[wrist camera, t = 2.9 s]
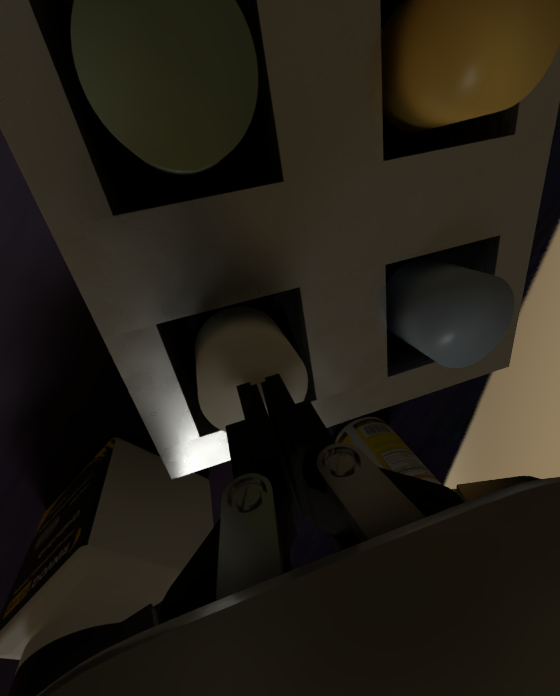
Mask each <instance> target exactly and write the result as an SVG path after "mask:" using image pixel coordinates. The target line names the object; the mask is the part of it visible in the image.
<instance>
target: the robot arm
mask: <svg viewBox="0 0 560 696" xmlns="http://www.w3.org/2000/svg"><path fill="white" fill-rule="evenodd" d="M261 387H262V391H263V395H264V399H265V403H266V407H267V410H266V408H265V405H264V402H263V400H262V397H261V395H260V392H259V389H258V387H257V384H255V385H251V383H250V382H248V383H245V384H241V385H238V386H236V388H237V391H238V395H239V399H240V403H241V406H242V410H243V414H244V418H245V420H242V421H239V422H236V423H233V424H229V425H226V426H225V428H226V435H227V440H228V446H229V452H230V458H231V464H232V470H233V476H234V480H233V481H232V482H231V483H230V484H229V485H228V486H227V487H226V489H225V491H224V492H223V496H222V502H221V518H220V519H219V521H218V522H217V523H216V525H215V526H214V527H213V529H212V530H211V532H210V533H209V534H208V536H207V537H206V538H205V540H204V541H203V543H202V544H201V545H200V547H199V548H198V549H197V551H196V552H195V554H194V555H193V556H192V558H191V559H190V560H189V562H188V563H187V565H186V566H185V567H184V569H183V570H182V571H181V573H180V574H179V576H178V577H177V578H176V580H175V581H174V582H173V584H172V585H171V587H170V588H169V590H168V591H167V593H166V595H165V597H164V599H163V601H161V602H160V603H158V604H157V605H155V606H152V604H151V603H150V604H149V605H147V606H145V607H144V608H142V609H141V610H139V611H138V612H136V613H135V614H133V615H131V616H130V617H128V618H127V619H125V620H124V621H122V622H121V623H119V624H117V625H116V626H114V627H113V628H111V629H110V630H108V631H106V632H105V633H103V634H102V635H100V636H99V637H97V638H96V639H94V640H92V641H91V642H89V643H88V644H86V645H85V646H83V647H82V648H80V649H78V650H77V651H75V652H74V653H72V654H71V655H70V656H68V657H67V658H66V659H65V660H64V661H62V662H61V663H60V664H59V666H58V667H57V668H56V669H55V671H54V672H53V673H52V674H51V676H50V677H49V679H48V681H47V683H46V685H45V687H44V689H43V690H42V692H40V693H39V694H38V695H37V696H560V477H556V478H547V479H539V478H535V477H531V476H518V477H511V478H503V479H496V480H488V481H481V482H474V483H467V484H459V485H457V489H449V488H448V487H445V486H443V485H440V484H437V483H434V482H430V481H426V480H423V479H419V478H416V477H412V476H409V475H405V474H401V473H398V472H394V471H391V470H387V469H384V468H380V467H377V466H376V465H375V464H374V463H373V462H372V461H371V460H370V459H369V458H368V457H367V456H366V455H365V454H364V453H363V452H362V451H361V450H360V449H359V448H357V447H356V446H353V445H351V444H346V443H335V441H334V439H333V438H332V436H331V435H330V433H329V431H328V430H327V428H326V426H325V425H324V423H323V422H322V420H321V418H320V417H319V415H318V413H317V412H316V410H315V408H314V407H313V405H312V404H311V402H310V401H309V400H306V401H302V402H299V403H296V404H295V403H294V401H293V399H292V397H291V395H290V393H289V391H288V390H287V388H286V386H285V384H284V382H283V380H282V378H281V376H280V375H279V373H278V374H275V375H272V376H268V377H265V382H261ZM267 411H268V413H267ZM268 415H269V416H268ZM290 483H291V485H290ZM291 486H292V489H293V491H294V494H295V497H296V500H297V502H298V505H299V508H300V511H301V513H302V516H303V518H304V519H307V518H309V517H310V520H311V522H312V525H313V527H317V528H319V529H322V530H324V531H327V532H329V536H330V538H331V540H332V542H333V544H334V545H335V547H336V549H337V550H338V552H337V553H334V554H332V555H329V556H327V557H324V558H322V559H319V560H317V561H314V562H312V563H309V564H307V565H304V566H302V567H299V568H297V569H294V570H293V566H292V559H291V554H290V548H291V546H292V544H293V542H294V540H295V538H296V536H297V532H296V528H295V524H294V523H296V522H299V519H298V515H297V510H296V506H295V502H294V498H293V494H292V489H291Z"/></svg>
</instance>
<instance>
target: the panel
mask: <svg viewBox="0 0 560 696" xmlns="http://www.w3.org/2000/svg"><path fill="white" fill-rule="evenodd" d="M236 2H237V4H238V6H239V8H240V10H241V11H242V13H243V15H244V18H245V20H246V22H247V25H248V27H249V30H250V33H251V36H252V39H253V43H254V47H255V52H256V57H257V65H258V94H257V101H256V106H255V111H254V114H253V117H252V120H251V123H250V128H251V134H252V139H253V145H254V150H255V156H256V161H257V167H258V172H259V178H260V183H261V184H259V185H254V186H249V187H244V188H239V189H234V190H229V191H224V192H219V193H214V194H209V195H204V196H199V197H194V198H190V199H185V200H180V201H175V202H170V203H165V204H160V205H155V206H150V207H145V208H140V209H135V210H130V209H129V206H128V203H127V201H126V198H125V195H124V192H123V190H122V187H121V184H120V181H119V179H118V176H117V173H116V170H115V168H114V165H113V162H112V160H111V157H110V154H109V151H108V149H107V146H106V143H105V140H104V138H103V135H102V132H101V130H100V127H99V124H98V121H97V119H96V116H95V113H94V110H93V108H92V106H91V104H90V102H89V101H88V99H87V97H86V95H85V92H84V90H83V88H82V85H81V83H80V80H79V77H78V74H77V71H76V67H75V63H74V58H73V53H72V50H71V48H70V45H69V42H68V39H67V37H66V34H65V31H64V29H71V16H72V9H73V3H74V0H0V129H1V131H2V133H3V135H4V137H5V139H6V141H7V143H8V145H9V147H10V149H11V151H12V154H13V156H14V158H15V160H16V162H17V164H18V166H19V168H20V170H21V172H22V174H23V176H24V178H25V180H26V182H27V184H28V186H29V188H30V190H31V192H32V194H33V196H34V199H35V201H36V203H37V205H38V207H39V209H40V211H41V213H42V215H43V217H44V219H45V221H46V223H47V225H48V227H49V229H50V231H51V233H52V235H53V237H54V239H55V242H56V244H57V246H58V248H59V250H60V252H61V254H62V256H63V258H64V260H65V262H66V264H67V266H68V268H69V270H70V272H71V274H72V276H73V278H74V280H75V282H76V285H77V287H78V289H79V291H80V293H81V295H82V297H83V299H84V301H85V303H86V305H87V307H88V309H89V311H90V313H91V315H92V317H93V319H94V321H95V323H96V325H97V328H98V330H99V332H100V334H101V336H102V338H103V340H104V342H105V344H106V346H107V348H108V350H109V352H110V354H111V356H112V358H113V360H114V362H115V364H116V366H117V368H118V371H119V373H120V375H121V377H122V379H123V381H124V383H125V385H126V387H127V389H128V391H129V393H130V395H131V397H132V399H133V401H134V403H135V405H136V407H137V409H138V411H139V414H140V416H141V418H142V420H143V422H144V424H145V426H146V428H147V430H148V432H149V434H150V436H151V438H152V440H153V442H154V444H155V446H156V448H157V450H158V452H159V454H160V456H161V459H162V461H163V463H164V465H165V467H166V469H167V471H168V473H169V475H170V477H171V479H175V478H178V477H181V476H184V475H187V474H190V473H193V472H196V471H199V470H202V469H205V468H208V467H211V466H214V465H217V464H220V463H223V462H226V461H229V460H231V458H230V452H229V446H228V440H227V435H226V432H224V431H222V430H220V429H218V428H217V427H215V426H214V425H213V424H211V423H210V422H209V421H208V420H207V418H206V417H205V416H204V414H203V412H202V410H201V408H200V404H199V400H198V392H196V389H195V386H194V384H193V381H192V378H191V375H190V373H189V370H188V367H187V364H186V362H185V359H184V356H183V354H182V351H181V348H180V345H179V343H178V340H177V337H176V334H175V332H174V329H173V326H172V324H171V320H175V319H179V318H182V317H186V316H190V315H194V314H198V313H202V312H206V311H209V310H213V309H217V308H221V307H225V306H229V305H233V304H236V303H240V302H244V301H248V300H252V299H256V298H260V297H263V296H267V295H271V294H275V293H279V292H280V293H281V299H282V304H283V310H284V315H285V321H286V327H287V332H288V338H289V343H290V344H291V346H292V347H293V348H294V350H295V351H296V353H297V354H298V355H299V357H300V358H301V360H302V361H303V363H304V365H305V368H306V371H307V375H308V387H307V392H306V395H305V398H304V400H303V401H306V400H309V401H310V402H311V404H312V405H313V407H314V408H315V410H316V412H317V413H318V415H319V417H320V418H321V420H322V422H323V423H324V425H325V426H326V428H327V427H330V426H333V425H336V424H339V423H342V422H345V421H348V420H351V419H354V418H357V417H360V416H363V415H366V414H369V413H372V412H375V411H378V410H381V409H384V408H387V407H390V406H393V405H396V404H399V403H402V402H404V401H407V400H410V399H413V398H416V397H419V396H422V395H425V394H428V393H431V392H434V391H437V390H440V389H443V388H446V387H449V386H452V385H455V384H458V383H461V382H464V381H467V380H470V379H473V378H476V377H479V376H482V375H485V374H488V373H491V372H494V371H497V370H500V369H502V368H506V367H508V366H509V363H510V358H511V353H512V347H513V342H514V337H515V331H516V327H517V321H518V316H519V311H520V306H521V301H522V295H523V290H524V285H525V280H526V274H527V269H528V264H529V259H530V253H531V248H532V243H533V238H534V233H535V227H536V222H537V217H538V212H539V206H540V201H541V196H542V191H543V185H544V180H545V175H546V170H547V165H548V159H549V154H550V149H551V144H552V138H553V133H554V128H555V123H556V117H557V112H558V107H559V102H560V44H559V47H558V49H557V52H556V54H555V56H554V58H553V60H552V62H551V64H550V66H549V68H548V69H547V71H546V73H545V74H544V76H543V77H542V79H541V80H540V82H539V83H538V84H537V85H536V86H535V88H534V89H533V90H532V91H531V92H530V93H529V94H528V95H527V96H526V97H525V98H524V99H522V100H521V101H520V102H518V103H517V104H515V105H514V106H512V107H510V108H508V109H506V110H502V111H499V112H495V113H491V114H487V115H483V116H480V117H476V118H472V119H468V120H464V121H460V122H456V123H452V124H448V125H447V134H446V147H442V148H437V149H432V150H427V151H422V152H417V153H412V154H407V155H402V156H397V157H392V158H387V159H383V116H382V65H381V13H380V0H236ZM437 251H440V252H439V261H441V262H445V263H449V264H453V265H457V266H460V267H464V268H468V269H472V270H475V271H479V272H483V273H487V274H490V275H494V276H497V277H500V278H502V279H504V280H505V281H506V282H507V283H508V284H509V286H510V287H511V289H512V292H513V295H514V312H513V317H512V320H511V323H510V325H509V327H508V330H507V331H506V333H505V335H504V336H503V338H502V339H501V341H500V342H499V343H498V345H497V346H496V347H495V348H494V349H493V350H492V351H491V352H490V353H489V354H488V355H486V356H485V357H484V358H482V359H481V360H479V361H478V362H476V363H474V364H472V365H469V366H466V367H463V368H447V367H444V366H442V365H440V364H439V363H437V362H436V361H434V360H433V359H431V358H430V357H428V356H427V355H425V354H424V353H422V352H421V351H419V350H418V349H416V348H415V347H413V346H412V345H410V344H409V343H407V342H406V341H404V340H403V339H401V338H400V337H398V336H397V335H395V334H391V335H388V336H387V323H386V271H385V265H387V264H391V263H395V262H398V261H402V260H406V259H410V258H414V257H418V256H421V255H425V254H429V253H433V252H437Z"/></svg>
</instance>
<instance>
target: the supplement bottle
mask: <svg viewBox="0 0 560 696" xmlns="http://www.w3.org/2000/svg"><path fill="white" fill-rule="evenodd" d="M335 443H346V444H351V445H353V446H356V447H357V448H359V449H360V450H361V451H362V452H363V453H364V454H365V455H366V456H367V457H368V458H369V459H370V460H371V461H372V462H373V463H374V464H375V465H376V466H377V467H380V468H384V469H387V470H391V471H394V472H398V473H401V474H405V475H409V476H412V477H416V478H419V479H423V480H426V481H430V482H434V483H437V484H440V485H441V483H440V482H439V481H438V480H437V479H436V478H435V477H434V476H433V474H432V473H431V472H430V471H429V470H428V469H427V468H426V467H425V466H424V464H423V463H422V462H421V461H420V460H419V459H418V458H417V457H416V456H415V454H414V453H413V452H412V451H411V450H410V449H409V448H408V447H407V446H406V444H405V443H404V442H403V441H402V440H401V439H400V438H399V437H398V436H397V434H396V433H395V432H394V431H393V430H392V429H391V428H390V427H389V426H388V425H387V424H386V423H385V422H384V421H383V420H381V419H379V418H376V417H362V418H359V419H356V420H354V421H352V422H351V423H349V424H348V425H346V426H345V427H344V428H343V429H342V430H341V431H340V433H339V434H338V436H337V438H336V440H335Z"/></svg>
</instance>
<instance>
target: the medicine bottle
mask: <svg viewBox="0 0 560 696" xmlns="http://www.w3.org/2000/svg"><path fill="white" fill-rule="evenodd" d="M212 529H213V517H212V506H211V495H210V484H209V480H208V479H207V478H205V477H203V476H201V475H198V474H196V473H194V472H193V473H190V474H187V475H184V476H181V477H178V478H175V479H171V477H170V475H169V473H168V471H167V469H166V467H165V465H164V463H163V461H162V459H161V457H160V456H158V455H155V454H153V453H151V452H149V451H147V450H145V449H143V448H140V447H138V446H136V445H134V444H132V443H130V442H127V441H125V440H123V439H121V438H118V437H115V438H112V439H111V440H110V441H109V442H108V443H107V444H106V445H105V447H104V448H103V449H102V450H101V451H100V452H99V453H98V454H97V455H96V457H95V458H94V459H93V460H92V461H91V462H90V463H89V464H88V465H87V467H86V468H85V469H84V470H83V471H82V472H81V473H80V474H79V475H78V476H77V478H76V479H75V480H74V481H73V482H72V483H71V484H70V485H69V486H68V488H67V489H66V490H65V491H64V492H63V493H62V494H61V495H60V496H59V497H58V499H57V500H56V501H55V502H54V503H53V504H52V505H51V506H50V507H49V509H48V510H47V511H46V512H45V513H44V515H43V517H42V520H41V522H40V524H39V527H38V529H37V531H36V534H35V536H34V538H33V541H32V543H31V545H30V548H29V550H28V552H27V554H26V557H25V559H24V561H23V564H22V566H21V568H20V571H19V573H18V575H17V578H16V580H15V582H14V585H13V587H12V589H11V592H10V594H9V596H8V599H7V601H6V603H5V606H4V608H3V610H2V613H1V615H0V658H8V659H18V660H20V662H19V665H18V668H17V671H16V674H15V677H14V679H13V682H12V685H11V688H10V691H9V694H8V696H37V695H38V694H39V693H40V692H42V690H43V689H44V687H45V685H46V683H47V681H48V679H49V677H50V676H51V674H52V673H53V672H54V671H55V669H56V668H57V667H58V666H59V664H60V663H61V662H62V661H64V660H65V659H66V658H67V657H68V656H70V655H71V654H72V653H74V652H75V651H77V650H78V649H80V648H82V647H83V646H85V645H86V644H88V643H89V642H91V641H92V640H94V639H96V638H97V637H99V636H100V635H102V634H103V633H105V632H106V631H108V630H110V629H111V628H113V627H114V626H116V625H117V624H119V623H121V622H122V621H124V620H125V619H127V618H128V617H130V616H131V615H133V614H135V613H136V612H138V611H139V610H141V609H142V608H144V607H145V606H147V605H149V604H150V603H151V604H152V606H155V605H157V604H158V603H160V602H161V601H163V599H164V597H165V595H166V593H167V591H168V590H169V588H170V587H171V585H172V584H173V582H174V581H175V580H176V578H177V577H178V576H179V574H180V573H181V571H182V570H183V569H184V567H185V566H186V565H187V563H188V562H189V560H190V559H191V558H192V556H193V555H194V554H195V552H196V551H197V549H198V548H199V547H200V545H201V544H202V543H203V541H204V540H205V538H206V537H207V536H208V534H209V533H210V532H211V530H212Z"/></svg>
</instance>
